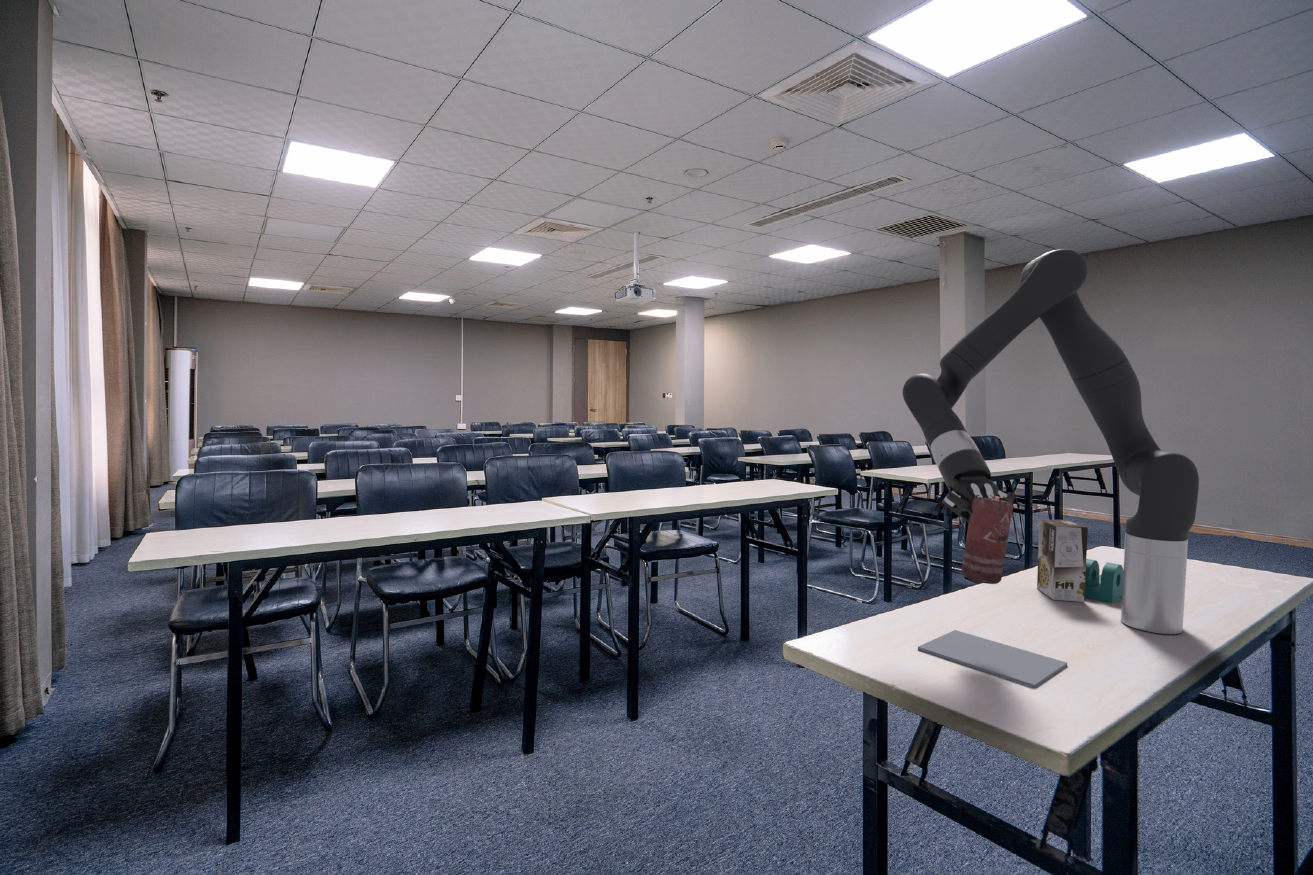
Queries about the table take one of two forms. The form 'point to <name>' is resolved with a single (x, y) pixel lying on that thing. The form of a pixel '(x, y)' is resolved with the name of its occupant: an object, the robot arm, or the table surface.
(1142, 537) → the robot arm
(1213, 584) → the table surface
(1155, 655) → the table surface
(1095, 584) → the bracket
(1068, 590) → the coffee box
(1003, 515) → the can
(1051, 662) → the mat
